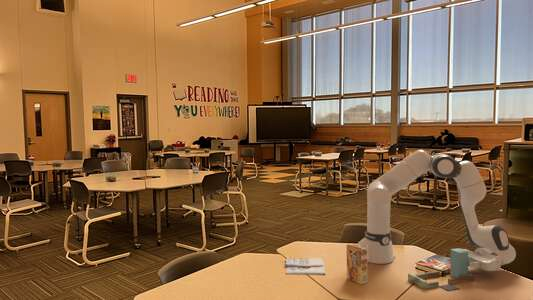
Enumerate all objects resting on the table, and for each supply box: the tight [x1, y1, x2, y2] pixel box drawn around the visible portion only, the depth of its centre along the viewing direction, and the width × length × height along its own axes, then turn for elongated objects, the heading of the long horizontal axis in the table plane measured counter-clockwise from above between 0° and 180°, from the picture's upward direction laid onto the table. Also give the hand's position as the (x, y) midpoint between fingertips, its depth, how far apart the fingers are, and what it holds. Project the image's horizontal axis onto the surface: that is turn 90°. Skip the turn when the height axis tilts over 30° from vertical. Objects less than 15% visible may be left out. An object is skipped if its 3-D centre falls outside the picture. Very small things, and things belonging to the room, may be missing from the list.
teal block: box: [449, 247, 469, 278], centre depth 181 cm, size 5×5×12 cm
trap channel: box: [407, 268, 475, 292], centre depth 178 cm, size 21×26×3 cm
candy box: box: [346, 243, 368, 285], centre depth 178 cm, size 9×4×15 cm, turn 33°
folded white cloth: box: [285, 257, 326, 276], centre depth 197 cm, size 19×20×2 cm
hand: (460, 261), depth 181 cm, fingers open, 8 cm apart
